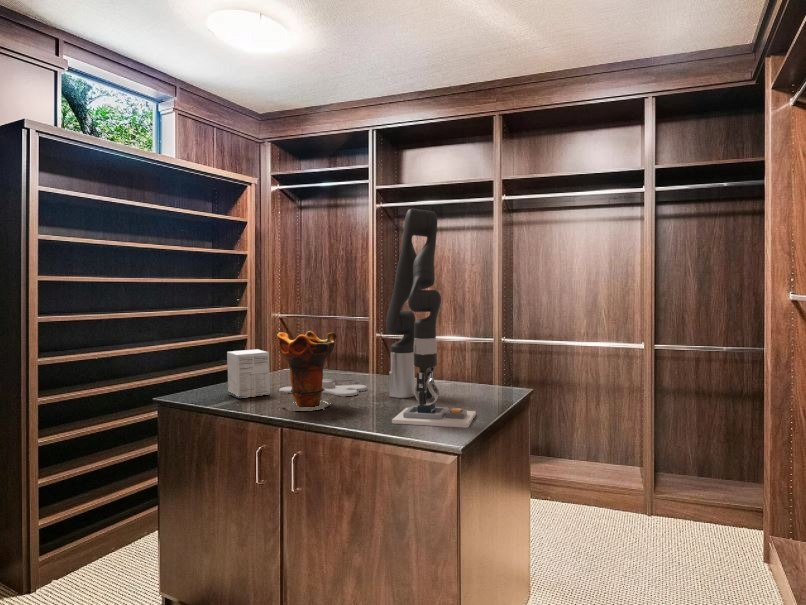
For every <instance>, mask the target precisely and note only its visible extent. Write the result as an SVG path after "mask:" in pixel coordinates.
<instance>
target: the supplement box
mask: <svg viewBox="0 0 806 605" xmlns="http://www.w3.org/2000/svg"><path fill="white" fill-rule="evenodd" d="M226 356H227V357H226V359H227V360H226V361H227V363H226V364H227V365H226V366H227V392H228V391H229V392H231V393H233V394H235V395H236V396H238V397H239V396H248V395H258V394H266V393H271V392H270V390H271V389H270V388H271V387H270V382H271V381H270V379H271V378H270V352H269V351H265V350H261V349H259V348H256V349H244V350H233V351H227V352H226Z"/></svg>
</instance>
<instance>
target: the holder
mask: <svg viewBox="0 0 806 605" xmlns="http://www.w3.org/2000/svg"><path fill="white" fill-rule="evenodd" d="M322 388H323V389H324V390H325V391H322V392H326V393H331V394H335V395H340V396H353V395H357V394H358V395H359V392H358V391H363V392H365V391H364V390H366V391H367V390H368V387H367V385H364V384H351V385H348V384H347V385H346V384H345V385H336V382H335V380H334V379H326V378H325V379H324V378H323V380H322ZM291 389H292V387H291V385H290V386H284V387H280V388H279V389H278V392H279V391H284V392H291ZM358 395H357V396H358ZM353 397H354V396H353Z"/></svg>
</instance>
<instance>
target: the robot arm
mask: <svg viewBox="0 0 806 605" xmlns="http://www.w3.org/2000/svg"><path fill="white" fill-rule="evenodd" d="M437 231H438V215H437V213H436V212H435V211H433V210H427V209H420V208H419V209H418V208H409V209H408V210H407V211H406V214H405V218H404V226H403V232H402V241H401V248H400V249H401V250H400V253H399V254H400V255H399V257H398V258H399V259H398V262H397V267H396V273H395V277H394V284H393V290H392V296H391V298H390V303H389V307H388V310H387V313H386V314H387V315H386V317H385V329H386V332H387V334H389V335H394V336H396V335H397V336H399V335H403V336H402V338H400V339H399V340H397V341H396V342H394V343H392V344H391V345H390V371H389V373H388V374H389V375H388V376H389V378H388V380H389V381H388V382H389V383H388V384H389V386H388V387H389V397H392V398H396V399H399V398H400V399H407V398H413V397H415V394H414V389H415V386H416V385H417V392H418V393H419V402H418V404H419V405H420V404H423V405H425V404H426V403H427V400H431V399H433V395H432V394H431V393H430V391H429V389H428V386H429V381H432V382H434V383H435V372H434V371H435V368H436V367H437V365H438V349H437V348H438V344H437V319H438V314H439V310H440V307H441V304H442V296H441V294H440V292H439V291H438V290H436V289H428V288H431V287H433V286H434V284H435V252H436V246H437V245H436V244H437ZM413 236H418V237H425V238H426V241H425V243H424V246H422V248H421V249H420V250H419V252H418V253H416V251H415V247H414V245H413V244H414V243H413ZM406 302H407V305H408V307H409V309H410V310H402V308H403V307H404V305H405V303H406ZM427 312H429V315H428V316H427V317H425V318H421V319H417V320H416V316H415V313H427ZM415 368H419V372H416V377H415ZM415 378H416V379H415ZM415 380H416V382H415ZM415 383H416V384H415Z"/></svg>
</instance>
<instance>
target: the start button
mask: <svg viewBox="0 0 806 605" xmlns="http://www.w3.org/2000/svg"><path fill="white" fill-rule="evenodd" d="M450 409H451V413H462V410H463V408H461V407H459V408H458V407H452V408H450Z"/></svg>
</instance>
